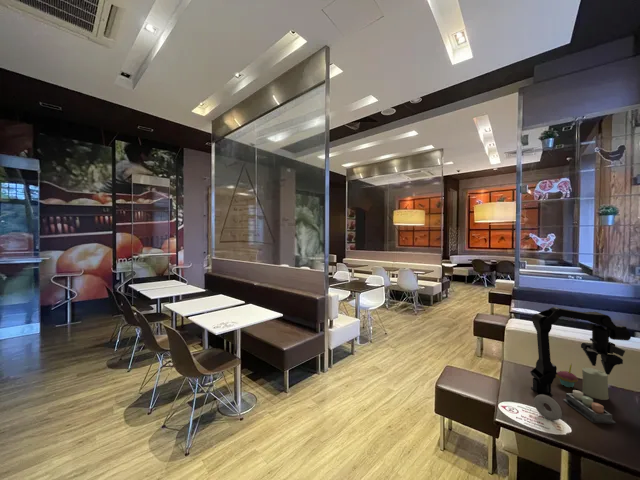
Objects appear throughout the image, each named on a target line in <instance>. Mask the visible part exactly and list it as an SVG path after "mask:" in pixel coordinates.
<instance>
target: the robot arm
mask: <svg viewBox="0 0 640 480" xmlns="http://www.w3.org/2000/svg"><path fill="white" fill-rule="evenodd" d="M561 317H562V318H569V319H574V320H580V321H587V322H589V323H590V324H589V325H586V328H587V329H590V330H591V337H590V338H589V341H591V343H590V342H582V343H580V348H581V349H582V350H583V352H584V354H585V355H586V357H587V358H588V360H589V362H590V364H591V366H594V367H596V365H597V359H598V355H600V358H601V359H600V362H601V364H602V368H603V370H604V372H605V373H606V374H608V376H609V375H610V374H611V373H612V371H613V369H614V367H615V366H619V365H623V364H624V359H623V358H622V357H624V355H625V353H626V350H625V349H623V348H620V347H618V346H617V345H616V344H615V343H613V342H611V341H610V339H611V340H614V341H615V340H616V341H630V340H631V339H632V336H631V333H630V331H629V330H628V329H627V326H625V325H616V324H615V323H614V322H613V321H612V320H613V319H612V317H610V316H609V315H607V314H604V313H601V312H599V311H577V310H572V309H565V308H560V307H557V306H552V307H551V308H548V309H546V310H543V311H540V312H538V313H535V314H534V315H532V316H531V321H532V324H533V327H534V329H535V331H536V338H537V354H538V355H537V356H538V359H537V360H536V362H535V367H534V368H533V369H532V370H530V371H529V372H530V375H531V376H532V386H530V389H531V390H533V391H534V392H535V393H537V395H540V394H541V395H547V396H553V395H554V394H553V393H552V384H553V382H554V379H556V378H557V376H556V375H558V374H557V372H558V371H557V369H558V368H557V366H556V365H555V364H554V363H552V361H551V350H550V349H551V348H550V336H549V335H550V332H551V331H552V328H553V327H552V326H553V324H555V323H556V322H558V320H559V319H560V318H561ZM618 355H619V356H618Z"/></svg>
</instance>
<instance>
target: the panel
mask: <svg viewBox="0 0 640 480" xmlns="http://www.w3.org/2000/svg"><path fill="white" fill-rule="evenodd" d="M562 401H563V402H564V403H565V404H566V405H568V406H570V407H571V408H572V409H574V410H575V411H577V412H578V413H579V414H580V415H582V416H583V417H584V418H586V419H587V420H589V422H591V423H594V424H608V425H609V424H610V425H617V422H616V421H615V420H614V419H613V414H612V413H610V412H608V411H606V409H604V413H596V412H594V411H593V410H592V406H585V405H584V404H583V403H582V400H580V399H575V398H574V397H573V392H572V393H570V392H568V393H567V392H565V398H562Z"/></svg>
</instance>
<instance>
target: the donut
mask: <svg viewBox="0 0 640 480" xmlns="http://www.w3.org/2000/svg"><path fill="white" fill-rule="evenodd" d="M533 403H534V407H535V409H536V410H537V412H538V413H539V414H540V415H541V416H542V417H543V418H545V419H546V418H547V420H550V421H555V422H556V421H558V420H560V419H561V418H562V414H563V412H562V408H561V406H560V404H559V403H558V402H557V401H556V400H555V399H554V398H553V397H551V396H550V395H541V394H540V395H539V394H537V395H536V396H535V397H534V399H533ZM544 404H547V405H548V406H549V407H550V409H551V410H548V409H547V408H546V407H545V405H544Z"/></svg>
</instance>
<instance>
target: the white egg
mask: <svg viewBox="0 0 640 480" xmlns="http://www.w3.org/2000/svg"><path fill="white" fill-rule="evenodd" d="M572 393H573V397H574V398H575V399H580V400H582V396H584V393H583V391H580V390H576V389H573V390H572Z"/></svg>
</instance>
